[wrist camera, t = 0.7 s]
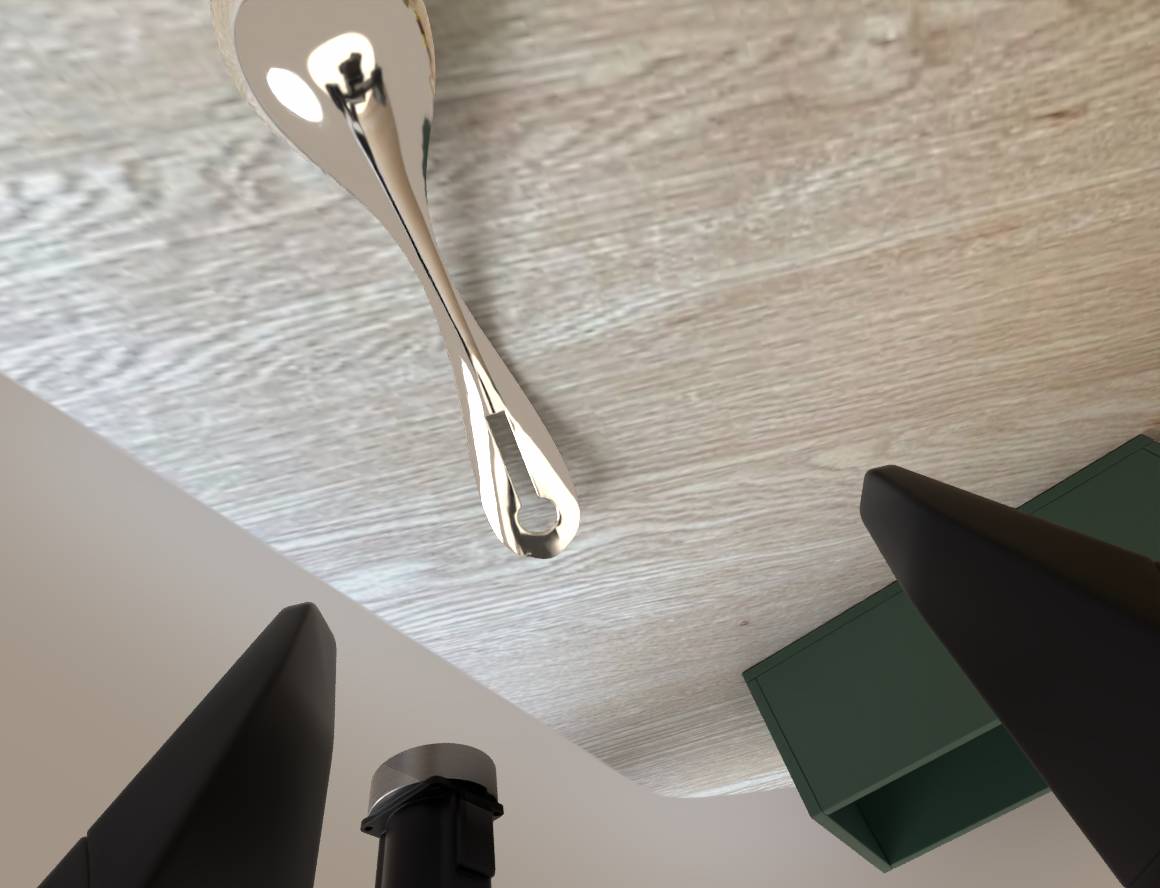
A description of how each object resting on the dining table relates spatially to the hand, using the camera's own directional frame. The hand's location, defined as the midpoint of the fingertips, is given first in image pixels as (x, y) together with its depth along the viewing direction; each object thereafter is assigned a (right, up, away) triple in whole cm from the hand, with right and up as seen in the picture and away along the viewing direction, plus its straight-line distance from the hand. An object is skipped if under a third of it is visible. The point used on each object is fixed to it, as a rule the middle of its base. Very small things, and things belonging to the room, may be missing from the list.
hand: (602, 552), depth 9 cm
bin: (+21, -8, +24) cm, 32 cm away
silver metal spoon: (-5, +6, +10) cm, 12 cm away
